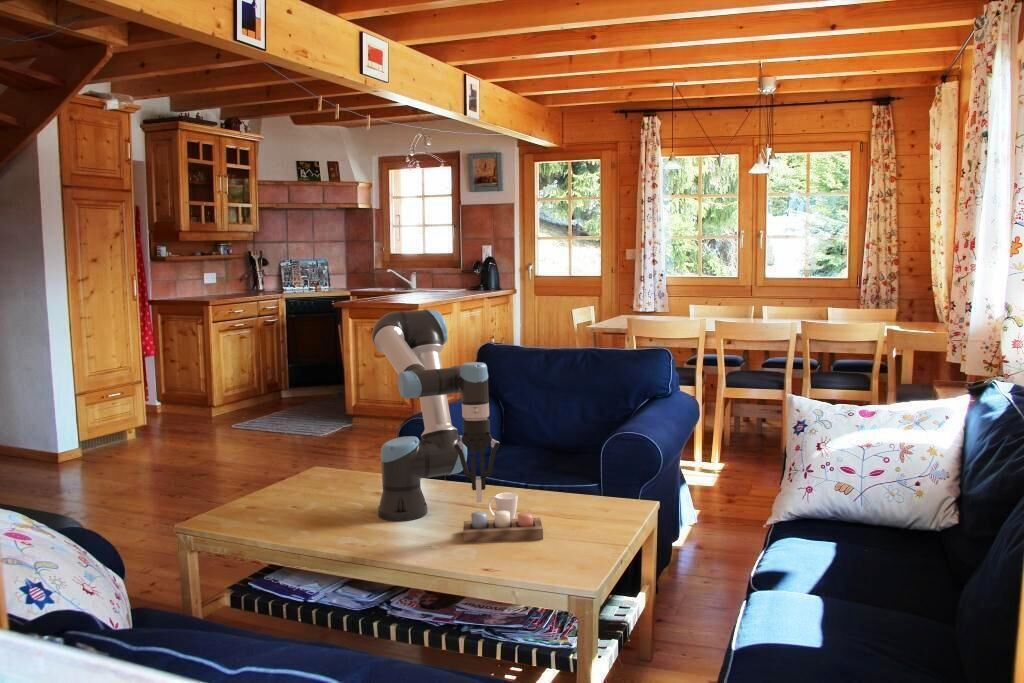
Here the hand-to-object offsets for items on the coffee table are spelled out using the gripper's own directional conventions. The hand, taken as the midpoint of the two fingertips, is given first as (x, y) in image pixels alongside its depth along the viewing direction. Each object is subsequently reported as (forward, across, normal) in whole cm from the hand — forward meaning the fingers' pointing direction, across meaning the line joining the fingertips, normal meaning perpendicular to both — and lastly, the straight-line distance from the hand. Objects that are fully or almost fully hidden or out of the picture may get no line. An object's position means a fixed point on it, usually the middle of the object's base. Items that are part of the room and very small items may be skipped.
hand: (479, 501), depth 244 cm
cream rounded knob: (+8, +6, 0) cm, 10 cm away
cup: (+10, +7, +13) cm, 18 cm away
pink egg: (+9, +13, 0) cm, 16 cm away
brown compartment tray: (+10, +6, 0) cm, 12 cm away
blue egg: (+8, 0, 0) cm, 8 cm away
